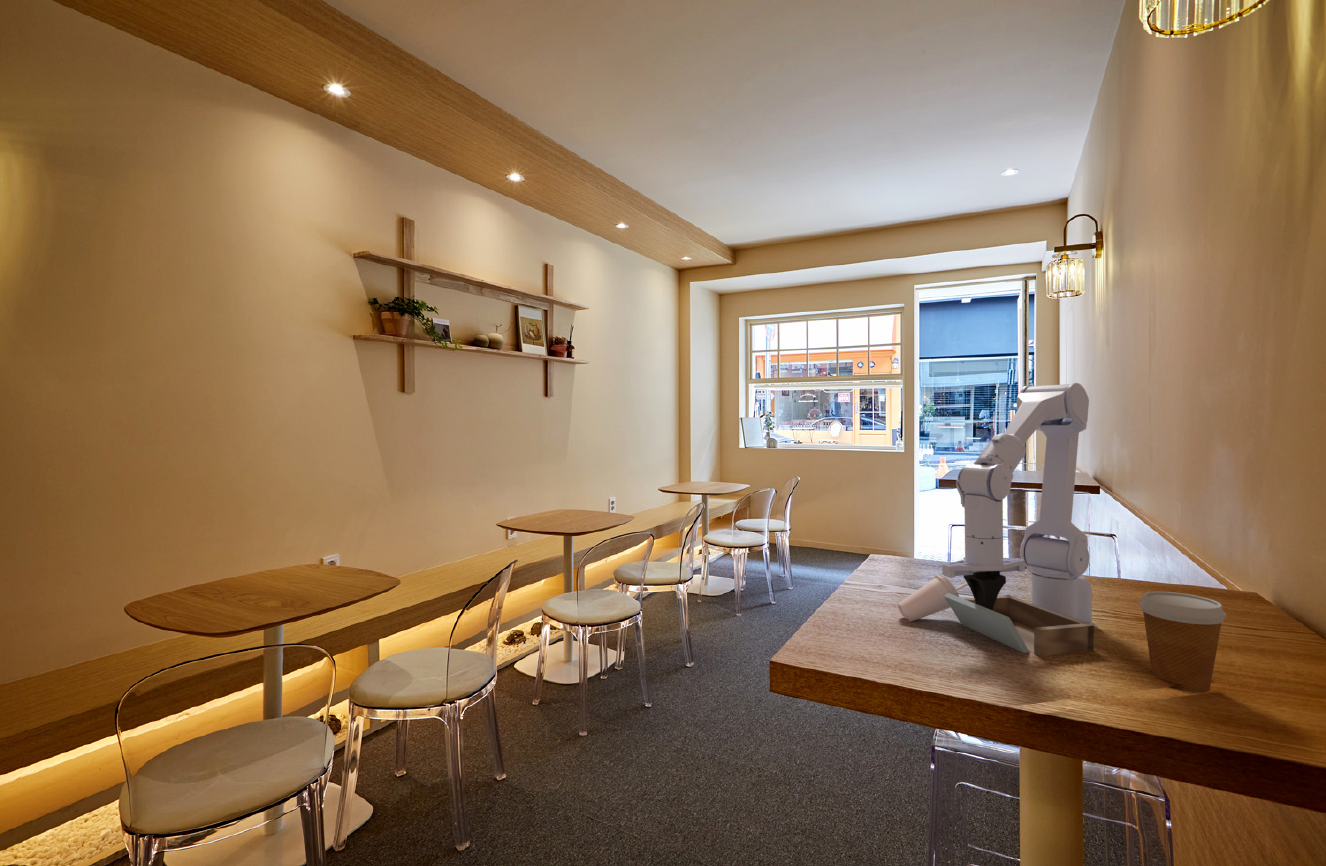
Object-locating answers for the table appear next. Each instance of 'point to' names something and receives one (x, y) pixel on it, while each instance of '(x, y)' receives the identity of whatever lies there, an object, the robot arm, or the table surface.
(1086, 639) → the box
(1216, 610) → the disposable coffee cup
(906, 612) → the smoothie
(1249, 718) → the table surface
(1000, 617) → the panel
